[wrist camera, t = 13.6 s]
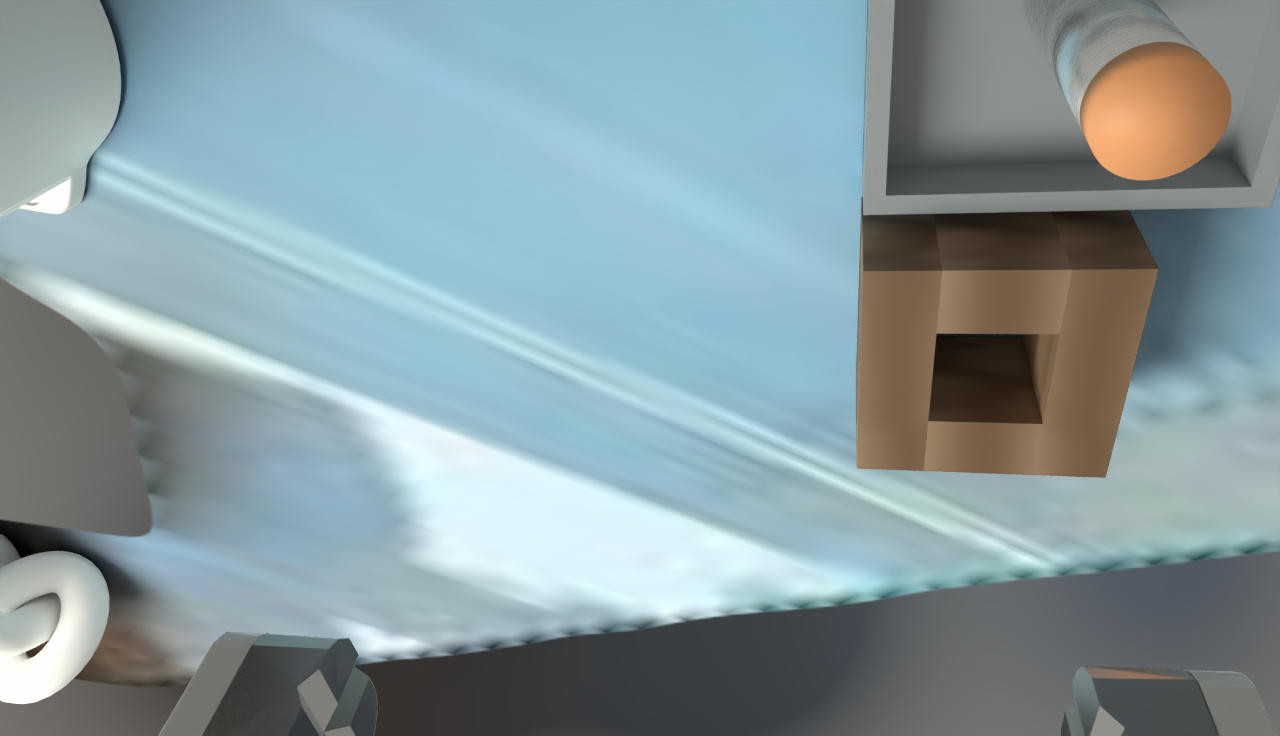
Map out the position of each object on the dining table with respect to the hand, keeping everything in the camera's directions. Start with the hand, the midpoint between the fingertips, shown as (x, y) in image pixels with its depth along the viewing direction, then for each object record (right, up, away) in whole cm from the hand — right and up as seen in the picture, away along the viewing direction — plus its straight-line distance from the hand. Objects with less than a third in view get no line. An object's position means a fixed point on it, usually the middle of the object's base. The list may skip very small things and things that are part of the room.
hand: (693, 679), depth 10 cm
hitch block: (+14, +7, +30) cm, 34 cm away
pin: (+14, +16, +21) cm, 30 cm away
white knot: (-45, -11, +58) cm, 74 cm away
